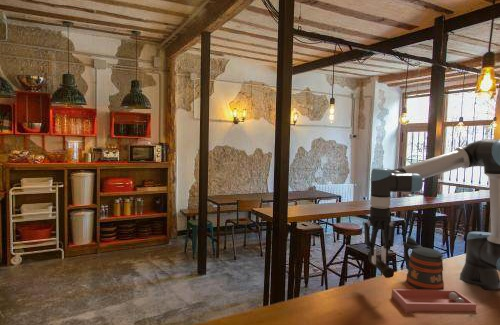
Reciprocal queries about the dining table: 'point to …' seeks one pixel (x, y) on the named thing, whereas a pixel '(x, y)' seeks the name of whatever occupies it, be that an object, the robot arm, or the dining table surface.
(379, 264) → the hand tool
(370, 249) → the robot arm
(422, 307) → the pink tray
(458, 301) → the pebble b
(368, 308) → the dining table surface
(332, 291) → the dining table surface
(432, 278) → the beer stein
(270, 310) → the dining table surface
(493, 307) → the dining table surface
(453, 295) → the light grey ball
